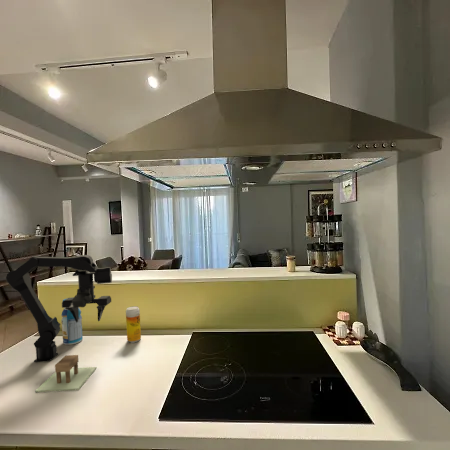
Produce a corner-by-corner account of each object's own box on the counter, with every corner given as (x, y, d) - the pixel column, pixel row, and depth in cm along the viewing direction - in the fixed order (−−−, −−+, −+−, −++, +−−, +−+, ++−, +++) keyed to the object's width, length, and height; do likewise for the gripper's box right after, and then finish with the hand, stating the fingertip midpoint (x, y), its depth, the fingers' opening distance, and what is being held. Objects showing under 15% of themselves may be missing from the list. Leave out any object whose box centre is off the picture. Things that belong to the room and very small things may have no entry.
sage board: (35, 392, 98) (35, 390, 98) (58, 370, 112) (58, 368, 112) (78, 390, 98) (78, 388, 98) (96, 368, 112) (96, 366, 112)
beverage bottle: (77, 345, 134) (74, 301, 134) (58, 345, 134) (56, 302, 134) (86, 337, 143) (84, 296, 142) (68, 338, 143) (66, 296, 142)
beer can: (137, 343, 133) (135, 310, 133) (124, 342, 134) (123, 309, 134) (143, 337, 139) (141, 306, 139) (131, 337, 140) (129, 305, 140)
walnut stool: (66, 373, 108) (65, 355, 108) (79, 372, 108) (78, 354, 108) (56, 383, 101) (54, 365, 101) (69, 383, 101) (68, 364, 101)
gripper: (53, 290, 118) (55, 329, 118) (100, 288, 118) (102, 327, 118) (67, 284, 129) (69, 320, 129) (110, 282, 129) (112, 318, 130)
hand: (88, 321), depth 126 cm, fingers open, 9 cm apart
